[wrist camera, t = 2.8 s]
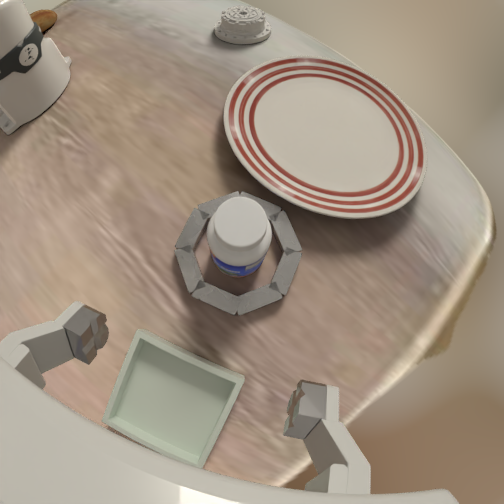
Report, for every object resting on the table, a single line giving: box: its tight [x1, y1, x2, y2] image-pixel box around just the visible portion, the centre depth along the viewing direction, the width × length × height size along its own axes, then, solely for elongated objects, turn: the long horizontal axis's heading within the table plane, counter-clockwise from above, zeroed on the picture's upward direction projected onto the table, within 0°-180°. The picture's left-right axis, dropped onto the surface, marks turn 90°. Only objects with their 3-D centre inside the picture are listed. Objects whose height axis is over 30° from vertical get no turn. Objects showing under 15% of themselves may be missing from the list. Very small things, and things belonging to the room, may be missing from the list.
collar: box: [174, 191, 302, 316], centre depth 30 cm, size 12×12×1 cm
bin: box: [102, 329, 245, 468], centre depth 25 cm, size 11×11×2 cm
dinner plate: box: [223, 56, 427, 219], centre depth 34 cm, size 27×27×3 cm
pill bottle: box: [207, 197, 272, 277], centre depth 26 cm, size 5×5×10 cm
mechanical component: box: [214, 6, 271, 44], centre depth 39 cm, size 10×4×10 cm
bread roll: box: [30, 10, 57, 32], centre depth 38 cm, size 10×15×8 cm, turn 138°
